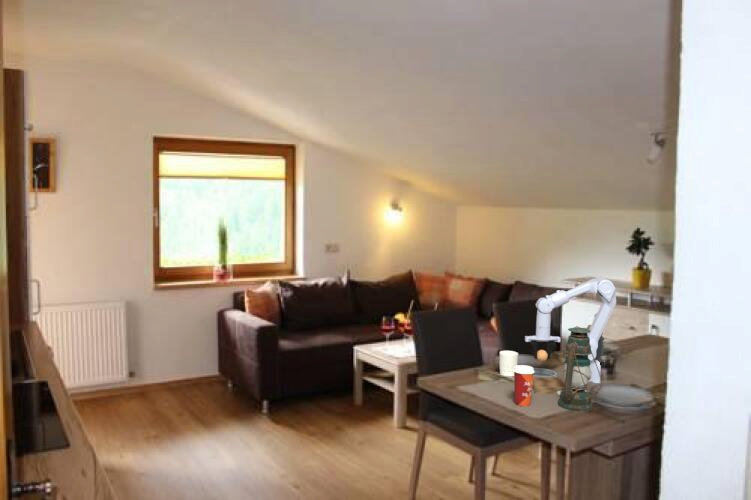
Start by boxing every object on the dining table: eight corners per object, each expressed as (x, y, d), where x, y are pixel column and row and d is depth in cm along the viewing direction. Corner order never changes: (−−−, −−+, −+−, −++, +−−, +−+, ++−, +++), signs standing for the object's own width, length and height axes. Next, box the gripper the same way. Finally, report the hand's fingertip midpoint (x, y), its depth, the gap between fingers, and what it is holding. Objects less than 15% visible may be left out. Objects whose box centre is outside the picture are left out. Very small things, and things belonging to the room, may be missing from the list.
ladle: (586, 390, 264) (586, 387, 264) (590, 395, 261) (591, 392, 260) (555, 392, 262) (555, 389, 262) (559, 397, 258) (559, 394, 258)
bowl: (551, 374, 287) (551, 368, 287) (560, 383, 275) (560, 376, 274) (522, 374, 287) (522, 368, 286) (529, 383, 274) (530, 376, 274)
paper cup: (528, 409, 243) (530, 371, 241) (508, 404, 247) (510, 368, 245) (535, 403, 249) (537, 366, 248) (516, 399, 254) (517, 363, 252)
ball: (545, 359, 282) (546, 348, 282) (548, 362, 277) (549, 351, 277) (534, 359, 282) (535, 348, 282) (537, 362, 277) (538, 351, 277)
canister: (606, 361, 311) (608, 324, 309) (599, 367, 300) (601, 329, 298) (578, 356, 317) (580, 320, 316) (570, 362, 307) (572, 325, 305)
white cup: (517, 379, 279) (518, 355, 278) (498, 377, 281) (499, 354, 280) (517, 373, 287) (518, 351, 286) (498, 372, 289) (499, 350, 288)
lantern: (568, 395, 259) (572, 320, 256) (605, 404, 250) (610, 325, 247) (548, 408, 244) (552, 328, 240) (586, 417, 235) (591, 334, 232)
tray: (559, 383, 275) (559, 377, 275) (570, 394, 261) (570, 388, 261) (525, 383, 274) (525, 377, 274) (534, 393, 260) (535, 387, 260)
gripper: (557, 324, 282) (555, 356, 284) (523, 324, 282) (522, 355, 283) (562, 328, 275) (561, 360, 277) (528, 328, 275) (526, 360, 276)
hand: (541, 358), depth 280 cm, fingers closed on ball, 5 cm apart
